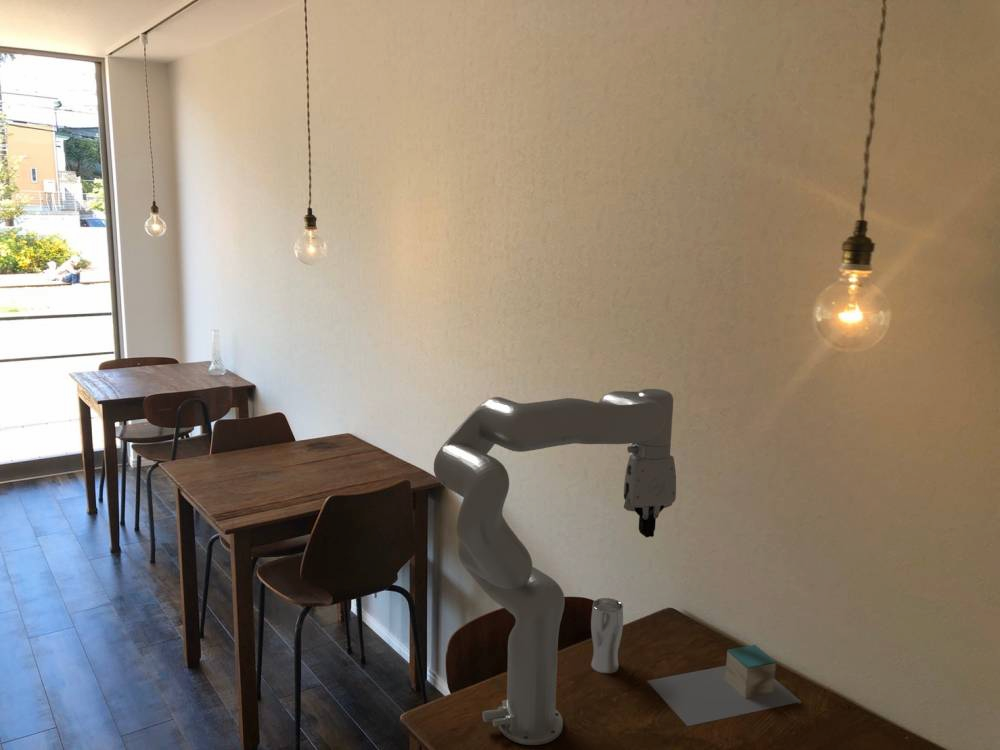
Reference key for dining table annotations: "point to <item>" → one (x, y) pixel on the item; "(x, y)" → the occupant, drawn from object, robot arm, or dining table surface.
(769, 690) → the birch cube
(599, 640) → the beer glass
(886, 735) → the dining table surface
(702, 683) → the rubber mat
